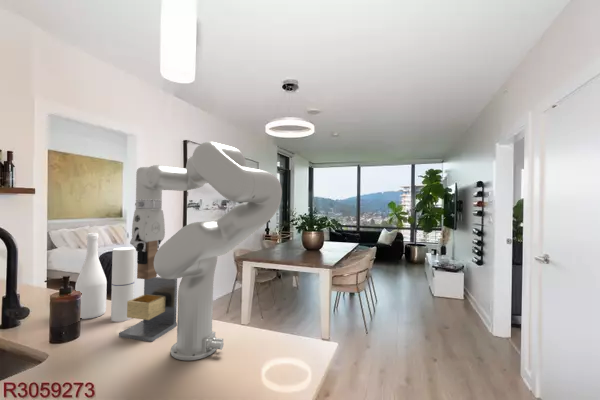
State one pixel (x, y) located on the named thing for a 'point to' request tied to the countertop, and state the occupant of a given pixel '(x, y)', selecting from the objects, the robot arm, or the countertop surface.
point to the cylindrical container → (122, 282)
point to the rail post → (148, 262)
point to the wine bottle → (92, 282)
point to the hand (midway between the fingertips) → (147, 261)
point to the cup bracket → (153, 310)
